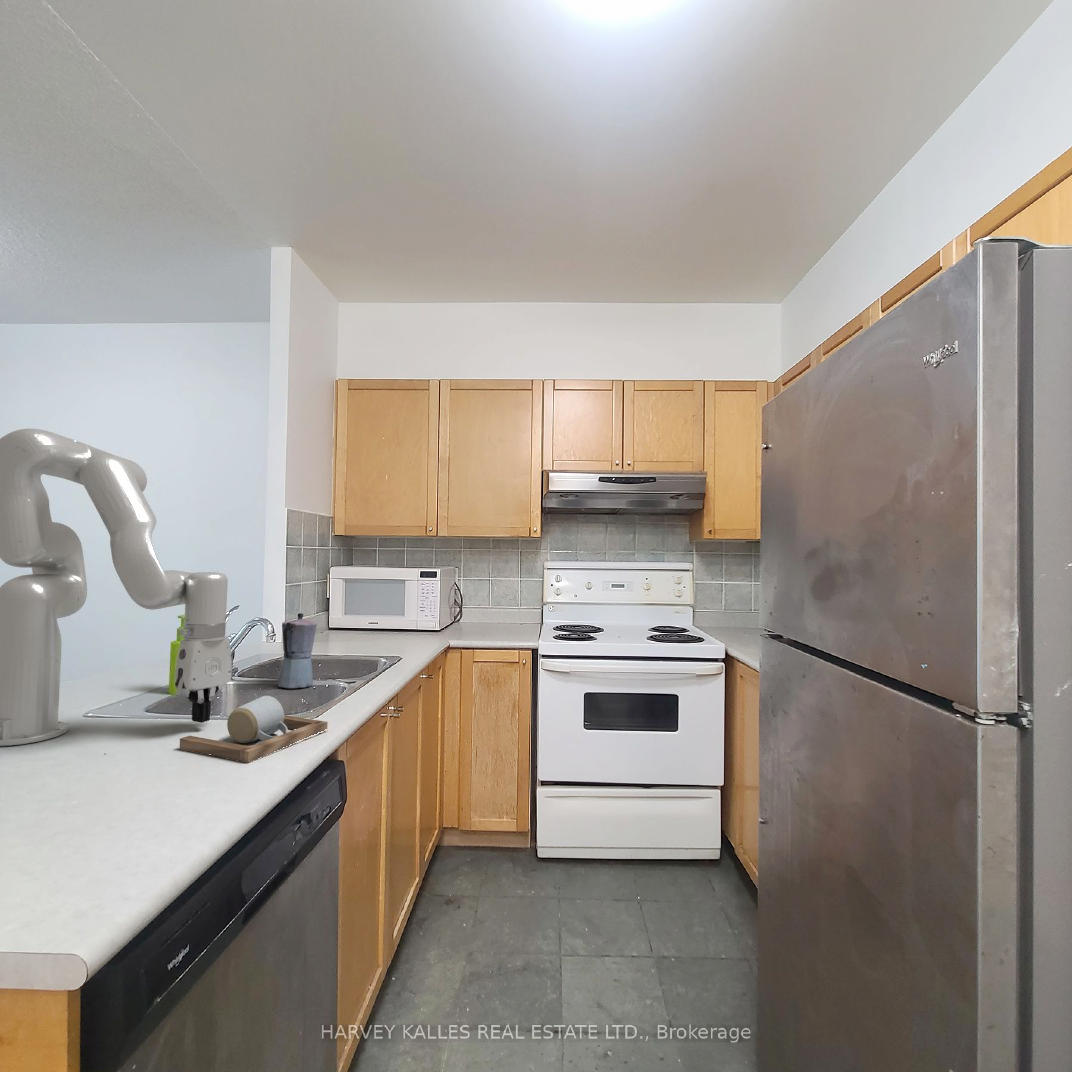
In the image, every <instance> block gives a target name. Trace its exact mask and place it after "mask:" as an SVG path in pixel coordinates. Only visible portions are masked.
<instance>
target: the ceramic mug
mask: <svg viewBox="0 0 1072 1072" xmlns="http://www.w3.org/2000/svg"><path fill="white" fill-rule="evenodd" d="M229 714H230V715H229V716H228V718H227V722H226V723H227V724H226V726H227V731H228V733H229V735H230V737H231V739H233V740H234V741H235V742H237V743H240V744H248V743H252V742H255V741H257V740H259V741H261V742H263V741H266V740H269V739H271V738H274V737H275V736H273V735H272V734H275V733H277V732H278V731H281V733H282V734H285V733H288V732H289V729H288V728H287V727H286V725H285V724H284V723H283V722H284V715H285V711H284V707H283V706H282V705H281V703H280V701H279V700H278V699H277V698H276V697H273V696H270V695H262V696H260V697H258V698H255V699H254V700H251V701H249V702H248V703H247V702H246V703H245V704H242V705H240V706H239V707H236V708H235V709H234V710H233V711H232V712H231V713H229Z"/></svg>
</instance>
